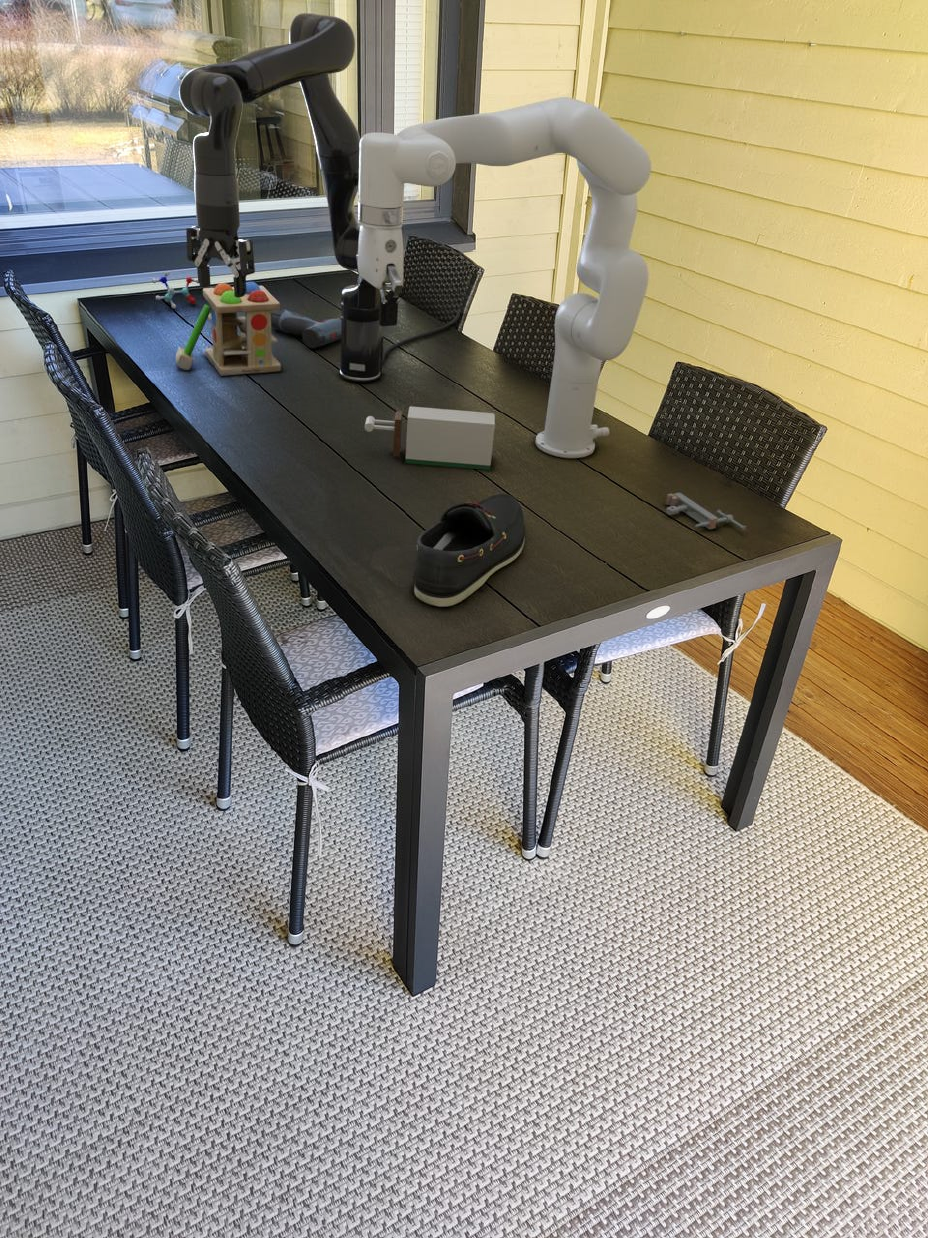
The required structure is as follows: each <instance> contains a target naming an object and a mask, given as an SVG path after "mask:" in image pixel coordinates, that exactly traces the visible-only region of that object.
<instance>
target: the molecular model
mask: <svg viewBox="0 0 928 1238" xmlns="http://www.w3.org/2000/svg"><path fill="white" fill-rule="evenodd" d="M163 273H164V275H163V276H161V277H160V278H158V279H156V278H151V282H152V283H153V284H156V283H162V284H164V286H165V287H166V289H167V292H166V294H165V295H163V296H160V295H156V296H155V300H156V301H160V300H165V302H167V303H170V305H171V309H173V310H176V308H177V305H176V304H175V303H174V302H173V300H172V299H173V297H174V296H175V295H176V294H182V295H183V296H185V297H186V298H187V299H188V301H189V303H190V304H191V305H194V304H196V298H194V297H192V295H191V294H190V293H189V289H188V288H189V285H190V284H191V283H196V284H199V282H198V278H196V279H193V278H192V277H190V276H188V277H186V279H185V281H186V284H185V286H184V287H183V288H181V290H175V289H174V287H170V286H169V284H168V278H167V277H168V276H169V275H170V271H168V270H165V271H163Z"/></svg>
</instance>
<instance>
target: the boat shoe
mask: <svg viewBox="0 0 928 1238" xmlns="http://www.w3.org/2000/svg"><path fill="white" fill-rule="evenodd" d="M523 511H524V510H523V507H521V505H520V503H519V501H518V500H517V499H516V497H514V496H513V495H511V494H508V493H496V494H493V495H490V496H487V497H485V498H483V499H481V500H480V501H478V502H472V501H467V502H465V501H462V502H459V503H456V504H454V505H452V506H450V507H448V508H447V509H446V510H445V511H444V512H443V513H442V514H441V516H440V518H439V519H438V521H437V522H436V523H434V524H433V525H431V526H430V527H428V528H427V529H426V530H424V531H422V533H421V534H420V535H419V536H418V538H417V539H416V541H415V545H414V548H415V549H416V559H415V563H414V570H413V572H412V579H413V580H415V581H414V589H413V591H414V595H415V596H416V598H417V599H418V600H420V601H421V602H424V603H425V604H427V605H430V606H435V607H439V608H443V607H451V606H454V605H457V604H459V603H461V602H462V601H463V600H465V599H467V598H468V597H469V596H471V595H472V594H473V593H474V592H476V591H477V590H478V589H479V588H480V587H482V586H483V585H484V584H485V583H486V581H487V580H488V579H489V578H490V576H492V575H493V574H494V573H495V572H496V571H498V570H499V569H501V568H503V567H505V566H507V565H508V564H510V563H512V562H513V561H515V560H516V559H517V558H518V557H519V556H520V555H521V553H522V551H523V549H524V546H525V541H526V523H525V516H524V512H523Z"/></svg>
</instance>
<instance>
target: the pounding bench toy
mask: <svg viewBox="0 0 928 1238" xmlns="http://www.w3.org/2000/svg"><path fill="white" fill-rule="evenodd" d="M202 296H203V298H204V299H205V300H206V301H207V302H208V304H209V305H208V304H204V305H203V307H202V309H201V312H200V313H199V316H198V318H197V320H196V322H195V324H194V327H193V329H192V331H191V332H190V333H191V334H190V336H189V338H188V340H187V343H186V344H185V347H184V348H182V347H180V346H179V347H178V349H177V351H176V354H175V357H174V358H175V362H176V365H177V366H178V368H179V369H182V370H185V371H189V370H190V369H191V367H192V365H193V363H194V356H193V351H194V348H195V347H196V345H197V342H198V340H199V337H200V336H201V333H202V332H203V329H204V326H205V325H206V322H207V320H209V321H210V322H211V336H212V337H211V338H212V339H211V340H212V348H205V349H204V352H205V353H204V355H205V357H206V359H208V361H209V363H210V364H211V365H212V366H213V367H214V369H215V370H216V371H217V372H218V374H219V375H220V376H222V377H223V376H234V375H235V376H236V375H246V374H247V375H250V374H262V373H275V372H281V370H282V364H281V363H280V362H279V360H278V359H277V358H276V357H275V356H274V355H273V348H272V347H273V345H272V344H276V343H278V342H279V341H278V339H277V338H276V337H275V336H274V334H272V327H271V310H280V309H281V304H280V301H278V300H277V299H276V297H274V296H273V295H272V294H271V293H270V292H269V290H268V289H267V288H266V287H264V285H259V284H257V283H256V282H255V281H246V294H245V295H244V296H243V297H240V298H238V297H235V296H234V286H232V285H230V284H229V283H226V282H221V283H218V284H217V285H216V286H215V287H205V288H203V289H202ZM238 313H244V314H245V315H244V316H238ZM238 329H239V331H240V333H239V334H238Z"/></svg>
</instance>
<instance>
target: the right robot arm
mask: <svg viewBox="0 0 928 1238" xmlns="http://www.w3.org/2000/svg"><path fill="white" fill-rule="evenodd" d="M555 154H563V155H567V156H569V157H571V158H574V159H575V160H576V164H577V168H578V170H579V173H580V174H581V175H582V177H583V178H584V179H585V182H586V183H587V185H588V189H589V191H590V196H591V208H590V209H591V210H590V216H589V219H588V224H587V227H586V231H585V234H584V238H583V240H582V241H583V242H582V245H581V248H580V252H579V255H578V260H577V263H576V275H577V279H578V280H579V281H580V282H581V283H582V284H583V285H584V286H586V287H587V288H589V289H590V290H592V291H594V293H597V294H598V298H597V297H596V296H594V295H591V294H589V293H584V292H575V293H572V294H570V295H568V296H566V297H565V298H564V299H563V300H562V301H561V303H560V304H559V306H558V308H557V309H556V313H555V318H554V346H555V347H554V357H553V365H552V372H551V373H552V374H551V380H550V387H549V395H548V400H547V401H548V402H547V409H546V416H545V423H544V430H542V431H541V432H539V433H537V434H536V437H535V441H534V442H535V445H536V447H537V448H538V449H539V450H541V451H542V452H544V453H546V454H548V455H551V456H554V457H558V458H563V459H564V458H565V459H580V458H586V457H588V456H590V455H592V454H593V453H594V451H595V448H596V443H595V441H594V440H596V439H597V438H604V437H608V436H610V428H609V427H607V426H605V427H599V426H598V424H592V422H593V421H592V420H593V415H594V409H595V404H596V397H597V392H598V391H597V390H598V386H599V380H600V374H601V365H602V361H605V362H606V361H612V360H614V359H616V358H618V357H619V356H620V355H622V354H623V353H624V352H625V350H626V349H627V347H628V346H629V343H630V341H631V339H632V337H633V334H634V331H635V328H636V325H637V322H638V318H639V316H640V312H641V309H642V306H643V303H644V300H645V296H646V293H647V290H648V285H649V269H648V268H649V267H648V264H647V262H646V260H645V259H644V258H643V256H642V255H641V254H640V253H638V252H637V251H636V250H633V249H631V248H630V244H631V240H632V237H633V232H634V228H635V224H636V220H637V216H638V195H637V193H639V192H640V191H641V190H642V189H644V187H645V186H646V185H647V183H648V181H649V179H650V176H651V172H652V162H651V158H650V155H649V153H648V151H647V149H646V148H645V147H644V146H643V145H642V144H641V143H640V142H639V141H637V140H636V138H634V137H633V136H632V135H630V134H629V133H628V132H627V131H626V130H625V129H623V127H621V126H620V125H619V124H618V123H617V122H616V121H614V119H613V118H611V117H610V116H609V115H608V114H607V113H606V112H604V111H603V110H602V109H600V108H599V107H597V106H596V105H594V104H593V103H589V102H585V101H582V100H579V99H575V98H573V97H569V96H559V97H554V98H550V99H549V98H548V99H544V100H541V101H536V102H533V103H528V104H525V105H520V106H516V107H511V108H508V109H502V110H499V111H493V112H483V113H482V112H481V113H476V114H469V115H461V116H460V115H458V116H449V117H444V118H439V119H433V120H430V121H425V122H421V123H418V124H413V125H410V126H407V127H405V128H404V129H401V130H400V131H399V132H398V133H397V134H394V133H388V132H367V133H365V134H363V135H362V137H360V149H359V190H358V196H357V197H358V200H357V201H358V202H357V205H358V206H357V224H358V225H359V227H360V232H359V244H358V255H357V264H358V269H357V272H356V273H357V275H358V277H357V284H358V285H361V286H358V308H359V309H370V308H375V298H376V288H377V289H379V290H380V294H381V298H382V302H380V314H379V325H380V326H381V327H391V326H397V325H398V316H399V314H398V313H399V303H400V297H401V295H402V293H401V291H402V288H403V285H404V240H403V232H402V231H403V230H402V229H403V228H402V227H403V223H404V221H403V219H404V203H405V201H404V199H405V184H410V185H416V186H422V187H430V188H432V187H440V186H442V185H444V184H445V183H447V182H448V181H449V180H451V178H452V177H453V175H454V173H455V171H456V165H457V164H474V165H475V164H476V165H483V166H487V167H509V166H513V165H517V164H520V163H524V162H528V161H532V160H535V159H536V160H537V159H540V158H543V157H548V156H551V155H555ZM384 283H386V284H384ZM386 291H388V292H386Z"/></svg>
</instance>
